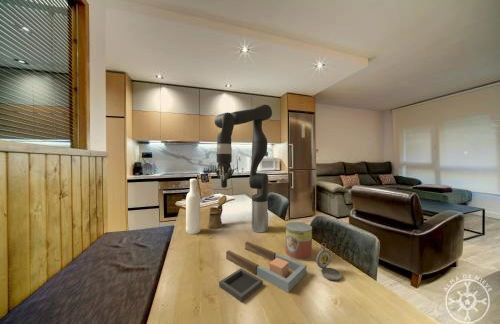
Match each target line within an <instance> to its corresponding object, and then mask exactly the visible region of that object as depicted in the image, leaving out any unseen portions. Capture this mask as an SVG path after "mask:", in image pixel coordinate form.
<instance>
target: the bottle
mask: <svg viewBox="0 0 500 324" xmlns="http://www.w3.org/2000/svg"><path fill="white" fill-rule="evenodd" d="M197 183H198V180H197V178H190V179H189V192H188V193H187V194H186V197H185V233H186V235H187V234H188V235H196V234H198V233H200V232H201V195H200V192H198V191H197V190H198V189H197Z"/></svg>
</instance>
